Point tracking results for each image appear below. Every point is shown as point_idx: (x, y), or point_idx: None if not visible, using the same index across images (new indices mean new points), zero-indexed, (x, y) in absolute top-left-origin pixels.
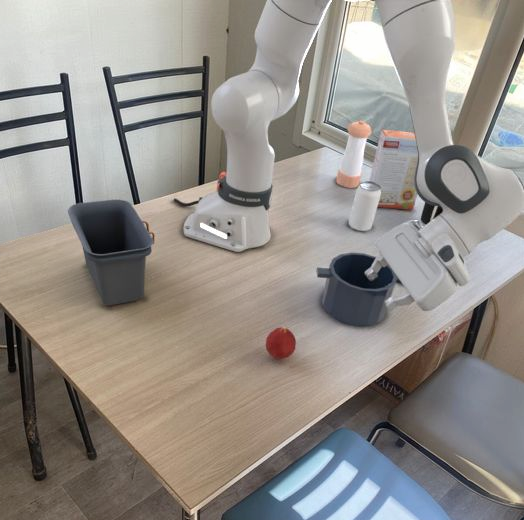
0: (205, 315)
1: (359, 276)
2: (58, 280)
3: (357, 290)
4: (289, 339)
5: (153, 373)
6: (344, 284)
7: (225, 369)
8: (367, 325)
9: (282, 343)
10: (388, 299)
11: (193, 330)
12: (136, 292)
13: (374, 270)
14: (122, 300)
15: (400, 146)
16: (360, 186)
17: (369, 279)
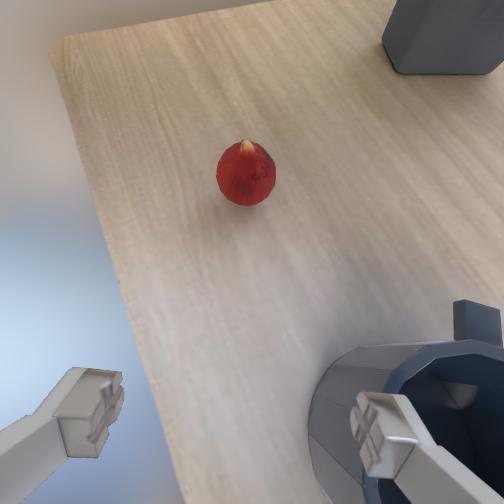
0: (362, 132)
1: None
2: None
3: None
4: (228, 164)
5: (251, 56)
6: (406, 358)
7: (237, 122)
8: (308, 438)
9: (225, 154)
10: (93, 394)
11: (327, 110)
12: (401, 49)
13: (407, 461)
14: (389, 47)
15: None
16: None
17: (354, 408)
